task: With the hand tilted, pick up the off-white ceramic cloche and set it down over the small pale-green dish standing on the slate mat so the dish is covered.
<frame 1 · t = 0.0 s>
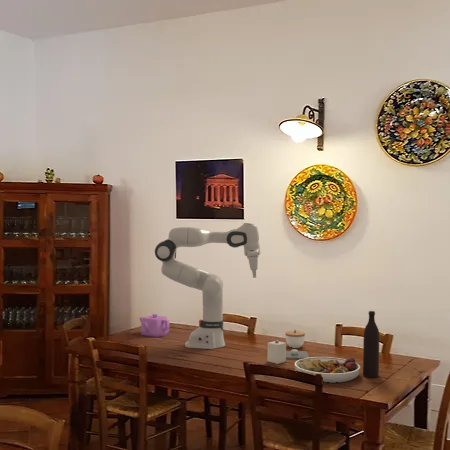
hand: (254, 276, 337), 39 cm above the table, tool pointing down, fingers open, 8 cm apart
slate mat: (294, 355, 316), on the table
bowl: (326, 375, 281), on the table
cloche: (276, 361, 305), on the table
wine bottle: (370, 376, 280), on the table
teakettle: (153, 334, 367), on the table
lidded jar: (294, 347, 337), on the table
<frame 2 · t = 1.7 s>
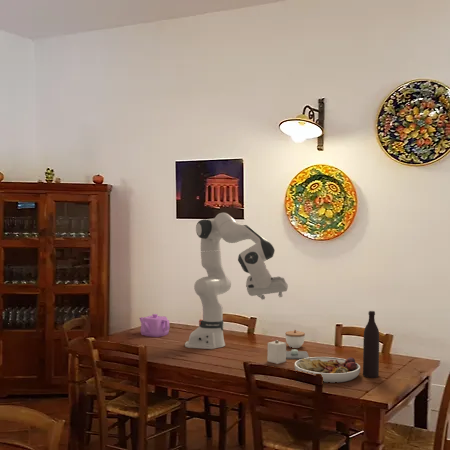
hand: (272, 297, 305), 32 cm above the table, tool tilted 45°, fingers open, 8 cm apart
nothing on the table moved.
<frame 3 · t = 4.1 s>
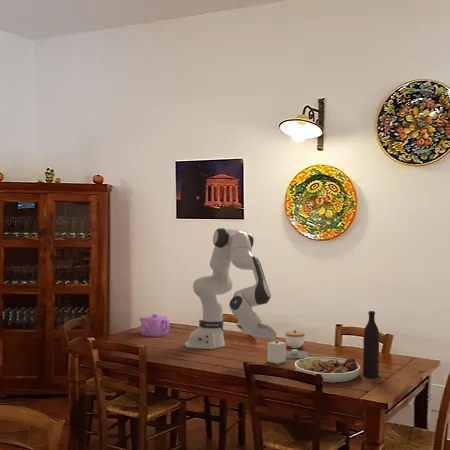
hand: (265, 339, 298), 12 cm above the table, tool tilted 45°, fingers open, 8 cm apart
nothing on the table moved.
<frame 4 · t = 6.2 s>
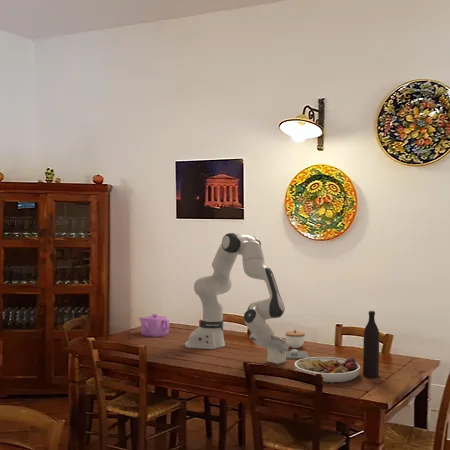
hand: (277, 351, 305), 5 cm above the table, tool tilted 45°, fingers closed on cloche, 7 cm apart
cloche: (276, 361, 305), on the table, touching gripper
everything else where it was.
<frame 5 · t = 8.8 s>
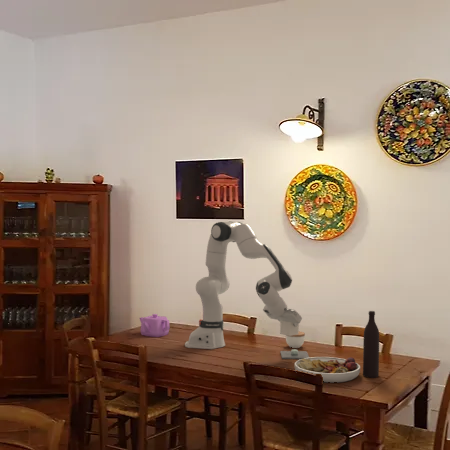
hand: (290, 324, 313), 17 cm above the table, tool tilted 45°, fingers closed on cloche, 7 cm apart
cloche: (289, 333, 312), point 12 cm above the table, touching gripper
everything else where it was.
when the fingers open (7 cm above the table, at t = 11.7 s): cloche drops 1 cm, resting on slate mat.
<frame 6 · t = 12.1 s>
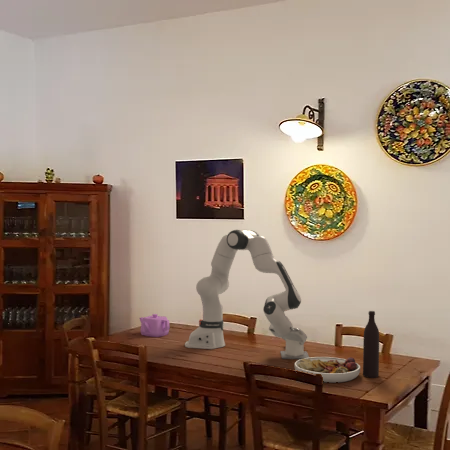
hand: (295, 342, 317), 7 cm above the table, tool tilted 45°, fingers open, 8 cm apart
cloche: (294, 354, 316), point 1 cm above the table, touching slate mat
everything else where it was.
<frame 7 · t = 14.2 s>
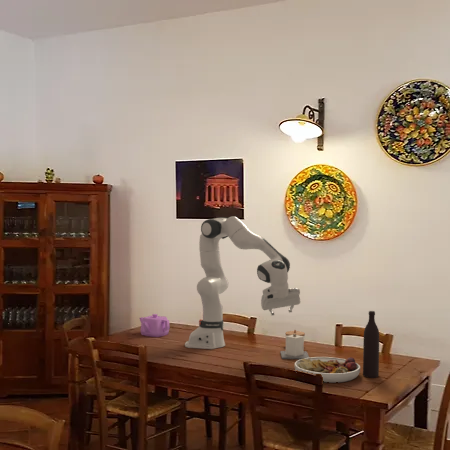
hand: (281, 313, 316), 22 cm above the table, tool tilted 25°, fingers open, 8 cm apart
nothing on the table moved.
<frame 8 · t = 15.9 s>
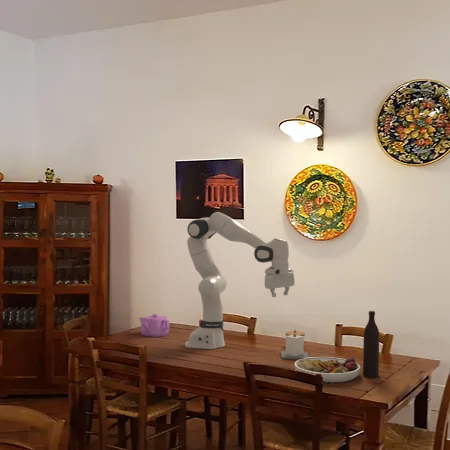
hand: (279, 296, 317), 31 cm above the table, tool pointing down, fingers open, 8 cm apart
nothing on the table moved.
at the end: cloche 0.1 cm from the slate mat (horizontally); cloche tilted 0°; cloche point 0.8 cm above the table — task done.
